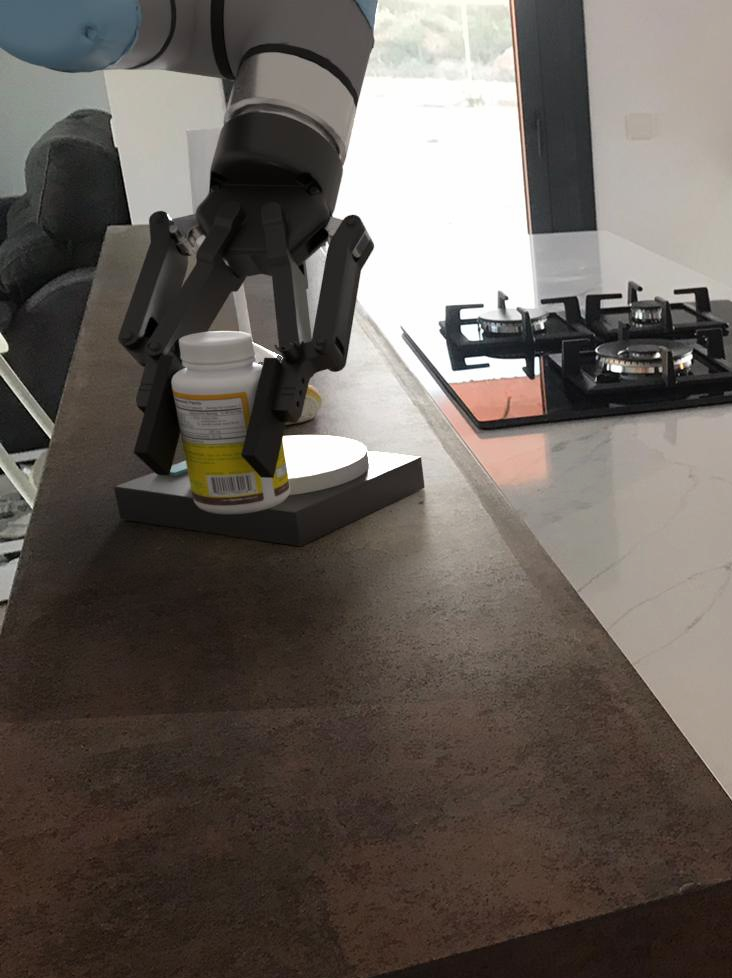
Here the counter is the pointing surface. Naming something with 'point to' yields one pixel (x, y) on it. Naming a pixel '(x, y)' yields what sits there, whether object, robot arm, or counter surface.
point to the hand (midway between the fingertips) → (204, 464)
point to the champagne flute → (200, 164)
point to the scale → (309, 506)
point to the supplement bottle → (222, 424)
